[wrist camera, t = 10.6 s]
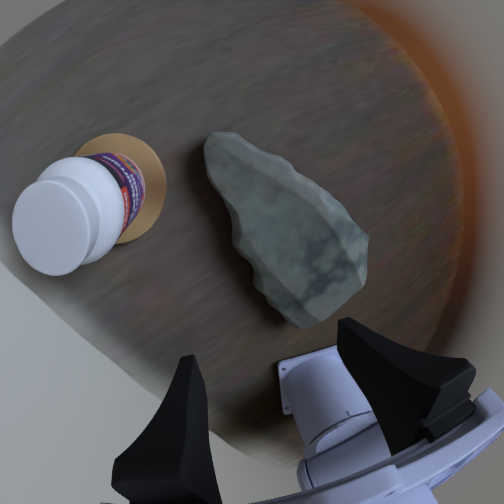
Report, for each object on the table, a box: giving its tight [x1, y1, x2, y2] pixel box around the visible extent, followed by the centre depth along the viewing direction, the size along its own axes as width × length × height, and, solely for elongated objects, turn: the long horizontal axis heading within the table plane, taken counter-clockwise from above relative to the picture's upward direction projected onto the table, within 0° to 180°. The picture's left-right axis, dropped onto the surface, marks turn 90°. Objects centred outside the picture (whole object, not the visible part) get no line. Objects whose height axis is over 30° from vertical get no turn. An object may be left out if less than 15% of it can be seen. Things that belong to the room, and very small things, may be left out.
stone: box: [203, 131, 369, 329], centre depth 21 cm, size 17×3×10 cm
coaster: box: [73, 133, 167, 244], centre depth 18 cm, size 8×8×1 cm
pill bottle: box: [12, 152, 145, 276], centre depth 14 cm, size 5×5×10 cm
